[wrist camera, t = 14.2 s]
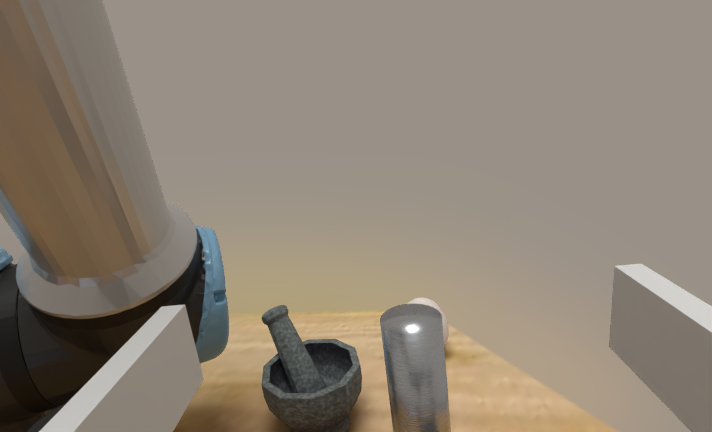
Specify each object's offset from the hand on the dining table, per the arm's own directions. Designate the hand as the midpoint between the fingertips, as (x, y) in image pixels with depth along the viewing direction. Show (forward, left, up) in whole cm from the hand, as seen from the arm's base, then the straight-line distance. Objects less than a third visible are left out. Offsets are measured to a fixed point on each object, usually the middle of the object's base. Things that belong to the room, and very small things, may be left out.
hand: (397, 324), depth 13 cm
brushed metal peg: (-10, +8, -23) cm, 26 cm away
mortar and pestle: (-25, +6, -24) cm, 35 cm away
